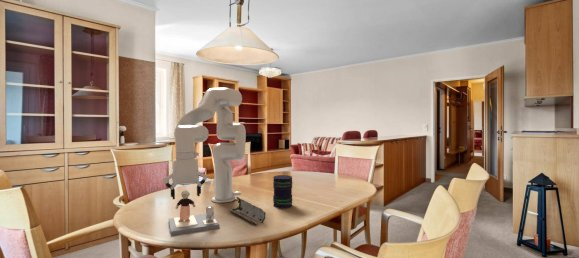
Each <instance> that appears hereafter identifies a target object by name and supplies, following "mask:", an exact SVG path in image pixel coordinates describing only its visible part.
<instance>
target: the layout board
mask: <svg viewBox="0 0 579 258" xmlns="http://www.w3.org/2000/svg"><path fill="white" fill-rule="evenodd" d="M189 219H190V221H185V220H184V221H183V222H178V221H179V220H180V216H179V217H178V216H177V217H170V218H168V224H169V225H168V226H169V232H170V236H176V235H177V234H178V235H183V234H189V233H197V232H202V231H208V230H214V229H219V228H220V223H219V221H218V220H217V218H216V217H215V216H214V222H211V223H207V222H206V213H202V214H194V215H190V218H189ZM196 231H197V232H196ZM178 235H177V236H178Z"/></svg>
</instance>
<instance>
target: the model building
mask: <svg viewBox="0 0 579 258" xmlns="http://www.w3.org/2000/svg"><path fill="white" fill-rule="evenodd" d="M235 199H237V200H238V201H237V203H238V206H237V207H236V208H233V209H232V208H230V207H228V208H227V209H228V210H229V211H231V212H232V213H234V214H236V215H238V216H240V217H241V218H243V219H245V220H246V221H248V222H250V223H252V224H254V225H255V226H257V223H255V222H254V221H252V220H255V221H256V222H258V223H260V224H264V221H265V220H266V212H265V211H264V210H263V209H262V208H261V207H259V206H257V205H255V204H253V203H250V202H248V201H246V200H245V199H242V198H240V197H239V196H235ZM245 216H247V217H248V218H247V217H245ZM251 219H252V220H251Z"/></svg>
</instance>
